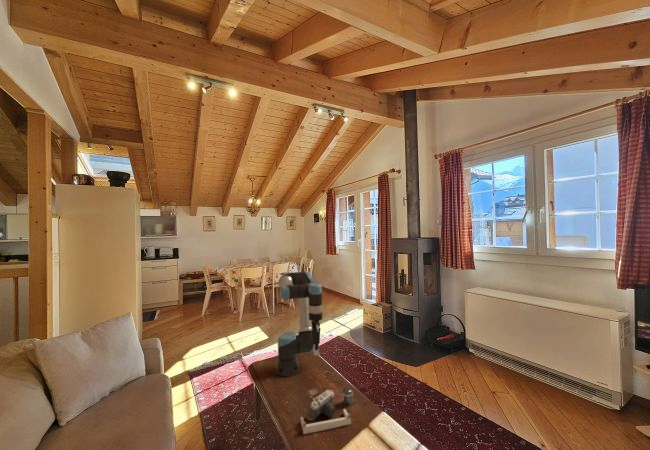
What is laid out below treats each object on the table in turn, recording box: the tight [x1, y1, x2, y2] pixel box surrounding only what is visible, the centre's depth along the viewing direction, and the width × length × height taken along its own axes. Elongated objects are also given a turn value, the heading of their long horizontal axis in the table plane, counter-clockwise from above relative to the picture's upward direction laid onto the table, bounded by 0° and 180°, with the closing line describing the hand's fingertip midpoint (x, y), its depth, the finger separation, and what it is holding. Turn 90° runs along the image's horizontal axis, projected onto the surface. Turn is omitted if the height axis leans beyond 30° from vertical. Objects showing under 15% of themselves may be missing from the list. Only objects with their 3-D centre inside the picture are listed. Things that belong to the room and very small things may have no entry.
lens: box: [342, 387, 354, 407], centre depth 147 cm, size 5×5×7 cm
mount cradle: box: [300, 408, 352, 435], centre depth 132 cm, size 8×22×4 cm, turn 104°
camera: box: [306, 389, 336, 421], centre depth 138 cm, size 9×16×10 cm, turn 140°
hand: (316, 354), depth 156 cm, fingers closed
